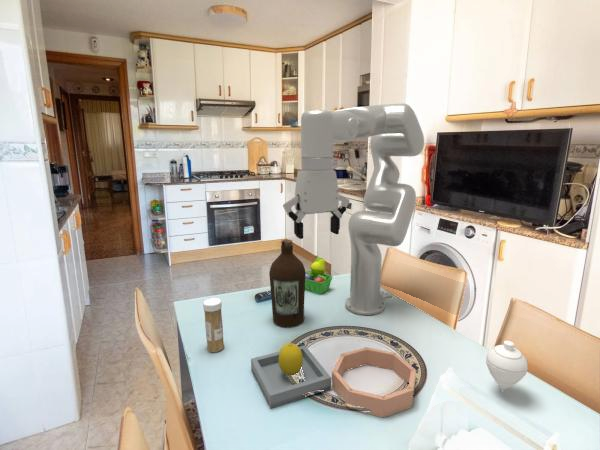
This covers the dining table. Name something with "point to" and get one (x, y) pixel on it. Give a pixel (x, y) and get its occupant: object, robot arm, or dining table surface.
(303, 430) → the dining table surface
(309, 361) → the grey tray
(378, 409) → the terracotta ring
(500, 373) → the spinning top
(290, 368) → the lemon
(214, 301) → the sprinkles bottle
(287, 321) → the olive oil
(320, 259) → the fruit basket
